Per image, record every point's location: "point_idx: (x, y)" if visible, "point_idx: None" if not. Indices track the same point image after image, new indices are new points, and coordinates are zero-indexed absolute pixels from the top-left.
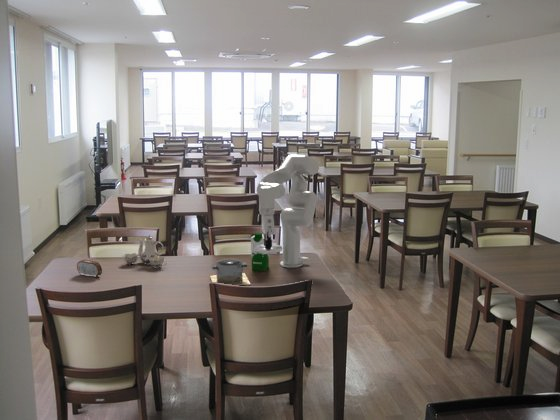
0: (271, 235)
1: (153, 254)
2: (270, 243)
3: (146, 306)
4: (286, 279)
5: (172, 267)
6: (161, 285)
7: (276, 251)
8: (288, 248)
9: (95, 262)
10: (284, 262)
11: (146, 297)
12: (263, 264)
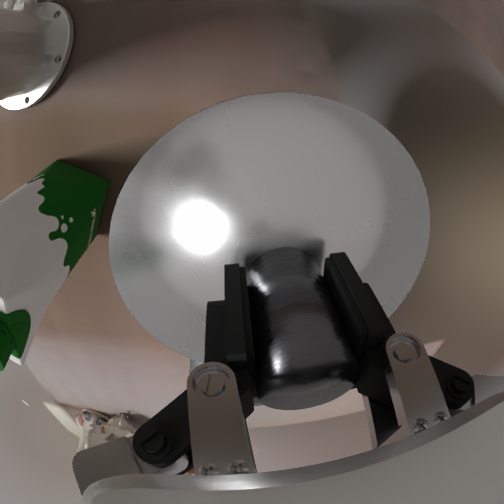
0: (443, 401)
1: (99, 432)
2: (381, 307)
3: (363, 410)
4: (273, 72)
5: (116, 402)
6: (251, 417)
7: (424, 200)
8: None
9: (189, 473)
10: (32, 84)
11: (318, 419)
12: (93, 196)
